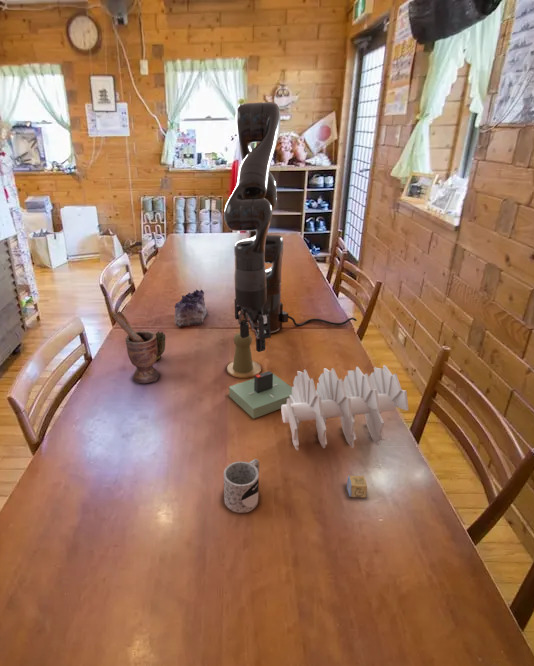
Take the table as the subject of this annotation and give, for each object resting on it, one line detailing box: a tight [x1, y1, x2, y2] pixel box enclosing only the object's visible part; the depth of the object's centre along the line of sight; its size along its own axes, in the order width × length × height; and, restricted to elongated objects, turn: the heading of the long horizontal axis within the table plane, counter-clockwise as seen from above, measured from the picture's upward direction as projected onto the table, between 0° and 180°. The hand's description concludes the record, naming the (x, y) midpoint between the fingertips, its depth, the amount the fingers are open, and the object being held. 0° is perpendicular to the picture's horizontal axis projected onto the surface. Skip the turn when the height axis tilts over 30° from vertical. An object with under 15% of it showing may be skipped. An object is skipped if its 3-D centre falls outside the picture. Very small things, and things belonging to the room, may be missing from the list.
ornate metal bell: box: [155, 331, 167, 362], centre depth 140 cm, size 8×7×8 cm
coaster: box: [226, 360, 262, 379], centre depth 135 cm, size 10×10×1 cm
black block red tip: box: [253, 370, 274, 393], centre depth 118 cm, size 5×2×5 cm, turn 120°
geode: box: [174, 289, 208, 328], centre depth 168 cm, size 20×12×10 cm, turn 174°
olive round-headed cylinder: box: [232, 332, 253, 373], centre depth 132 cm, size 6×6×11 cm
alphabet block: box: [346, 475, 368, 498], centre depth 89 cm, size 3×3×3 cm
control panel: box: [228, 373, 293, 420], centre depth 120 cm, size 14×12×3 cm
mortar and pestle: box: [112, 310, 160, 384], centre depth 127 cm, size 12×9×20 cm
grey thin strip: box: [223, 458, 260, 514], centre depth 89 cm, size 10×7×7 cm
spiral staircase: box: [280, 364, 409, 451], centre depth 102 cm, size 18×18×25 cm
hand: (252, 343), depth 115 cm, fingers open, 8 cm apart
